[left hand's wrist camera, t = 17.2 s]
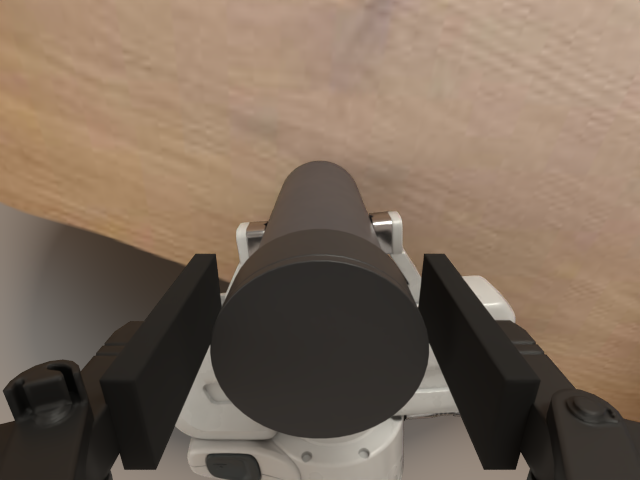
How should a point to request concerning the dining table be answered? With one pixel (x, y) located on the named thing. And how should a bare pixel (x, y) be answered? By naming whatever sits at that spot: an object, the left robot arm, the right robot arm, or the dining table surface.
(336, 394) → the lid
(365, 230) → the bottle
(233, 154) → the dining table surface
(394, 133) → the dining table surface
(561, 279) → the dining table surface
